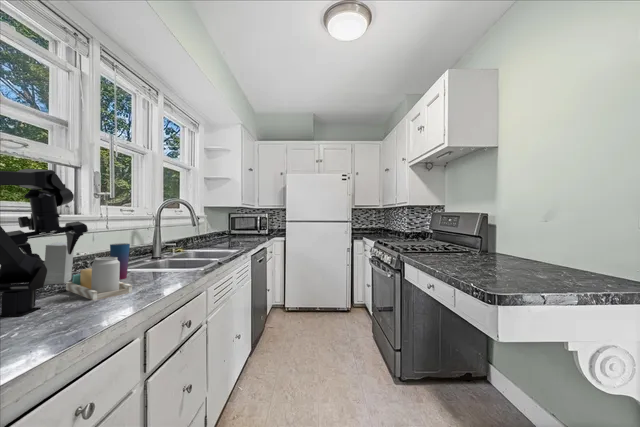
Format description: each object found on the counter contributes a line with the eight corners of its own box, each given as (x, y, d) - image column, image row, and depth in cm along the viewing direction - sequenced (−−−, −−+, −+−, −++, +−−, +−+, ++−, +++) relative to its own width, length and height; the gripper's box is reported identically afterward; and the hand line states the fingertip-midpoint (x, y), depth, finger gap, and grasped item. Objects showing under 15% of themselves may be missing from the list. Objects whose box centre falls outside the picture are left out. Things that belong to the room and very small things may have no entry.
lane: (131, 294, 97) (132, 285, 97) (93, 302, 88) (93, 292, 88) (102, 285, 109) (103, 277, 109) (65, 292, 99) (66, 282, 99)
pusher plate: (101, 284, 106) (102, 271, 106) (73, 289, 99) (73, 275, 99) (100, 284, 107) (101, 271, 107) (72, 288, 100) (72, 275, 100)
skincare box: (51, 282, 113) (52, 242, 113) (74, 281, 116) (75, 241, 116) (41, 287, 105) (42, 244, 105) (66, 285, 108) (67, 243, 108)
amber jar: (97, 291, 98) (97, 271, 98) (74, 291, 97) (75, 271, 97) (109, 286, 105) (110, 267, 105) (88, 286, 104) (89, 267, 104)
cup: (104, 281, 116) (105, 244, 116) (120, 278, 123) (121, 243, 123) (117, 282, 114) (118, 245, 114) (133, 279, 121) (133, 243, 121)
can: (124, 291, 99) (125, 256, 99) (106, 297, 91) (107, 259, 91) (104, 290, 99) (105, 255, 100) (84, 296, 92) (85, 258, 92)
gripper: (70, 202, 99) (75, 244, 103) (-10, 210, 83) (0, 260, 87) (86, 207, 94) (91, 252, 97) (4, 217, 78) (13, 270, 81)
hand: (51, 258), depth 91 cm, fingers open, 9 cm apart
